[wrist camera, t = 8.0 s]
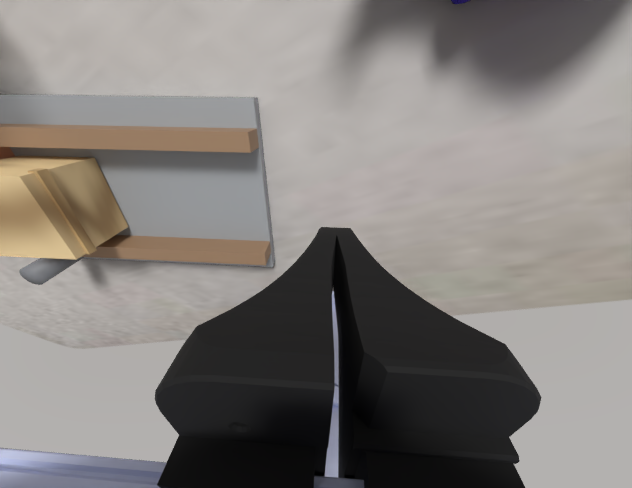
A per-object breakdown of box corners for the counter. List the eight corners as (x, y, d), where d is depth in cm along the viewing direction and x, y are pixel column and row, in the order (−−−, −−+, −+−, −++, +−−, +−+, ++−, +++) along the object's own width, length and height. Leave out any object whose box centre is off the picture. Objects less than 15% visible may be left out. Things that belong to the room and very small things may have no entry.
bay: (275, 261, 23) (262, 297, 19) (78, 252, 24) (25, 284, 20) (257, 97, 16) (230, 97, 11) (-28, 93, 17) (-149, 92, 12)
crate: (131, 227, 21) (80, 260, 17) (64, 225, 21) (-3, 256, 17) (96, 156, 17) (21, 174, 13) (17, 154, 18) (-81, 171, 14)
